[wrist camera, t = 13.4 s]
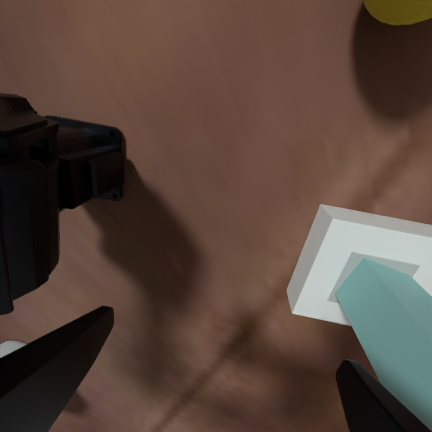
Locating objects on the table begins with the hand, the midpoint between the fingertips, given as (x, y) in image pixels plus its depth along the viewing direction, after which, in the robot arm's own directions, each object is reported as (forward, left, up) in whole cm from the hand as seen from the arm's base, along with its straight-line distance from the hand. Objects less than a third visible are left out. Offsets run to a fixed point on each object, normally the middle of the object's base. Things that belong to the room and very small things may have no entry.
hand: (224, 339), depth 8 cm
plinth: (+12, -3, -13) cm, 18 cm away
